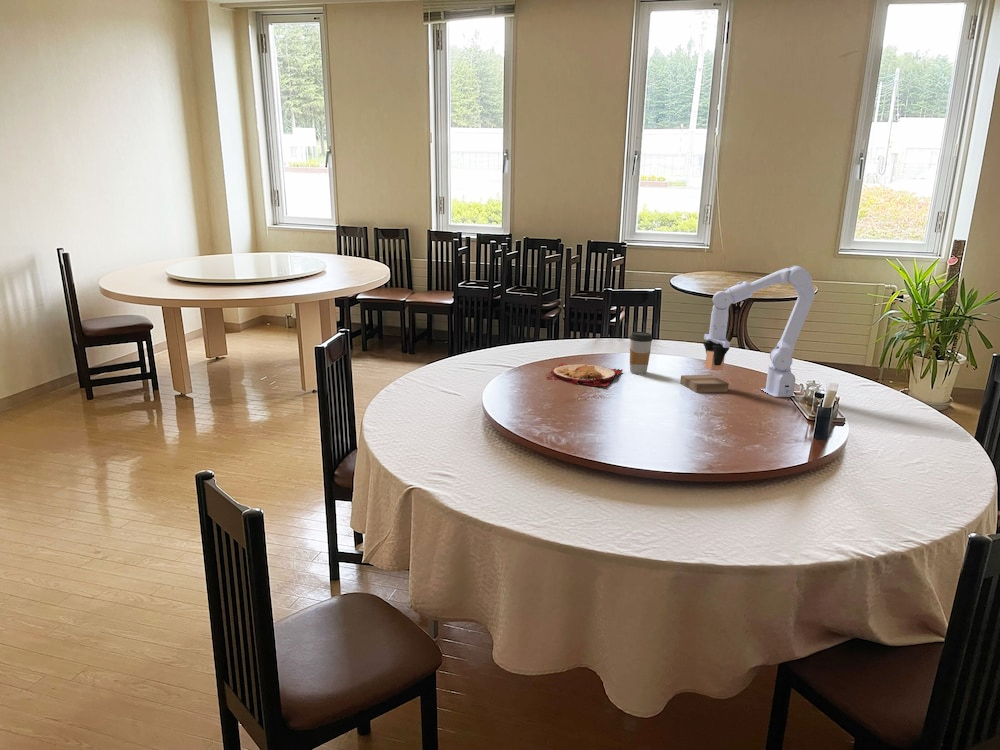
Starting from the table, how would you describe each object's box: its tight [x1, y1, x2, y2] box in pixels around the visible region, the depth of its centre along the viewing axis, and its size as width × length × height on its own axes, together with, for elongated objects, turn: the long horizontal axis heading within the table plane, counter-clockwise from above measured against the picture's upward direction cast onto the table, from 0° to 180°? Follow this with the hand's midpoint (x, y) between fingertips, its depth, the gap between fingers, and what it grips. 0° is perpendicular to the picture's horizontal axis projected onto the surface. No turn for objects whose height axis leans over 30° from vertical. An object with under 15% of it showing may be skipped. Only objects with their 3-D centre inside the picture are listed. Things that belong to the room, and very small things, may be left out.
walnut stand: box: [680, 374, 730, 393], centre depth 251 cm, size 12×12×3 cm
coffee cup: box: [629, 331, 653, 375], centre depth 267 cm, size 8×8×15 cm
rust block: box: [704, 351, 726, 371], centre depth 250 cm, size 4×4×6 cm
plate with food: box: [545, 363, 623, 388], centre depth 260 cm, size 25×26×4 cm
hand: (713, 363), depth 251 cm, fingers closed on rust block, 4 cm apart
